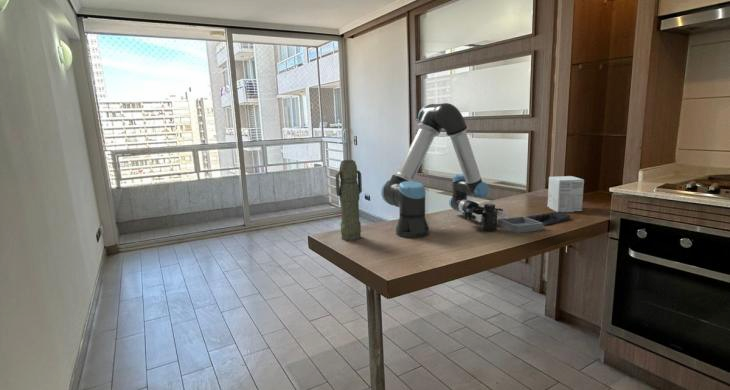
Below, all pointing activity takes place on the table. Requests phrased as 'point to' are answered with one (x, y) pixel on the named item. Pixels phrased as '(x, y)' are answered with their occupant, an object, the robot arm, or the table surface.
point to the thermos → (349, 199)
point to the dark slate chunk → (550, 218)
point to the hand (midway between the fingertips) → (493, 217)
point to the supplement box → (565, 193)
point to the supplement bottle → (489, 218)
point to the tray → (520, 224)
